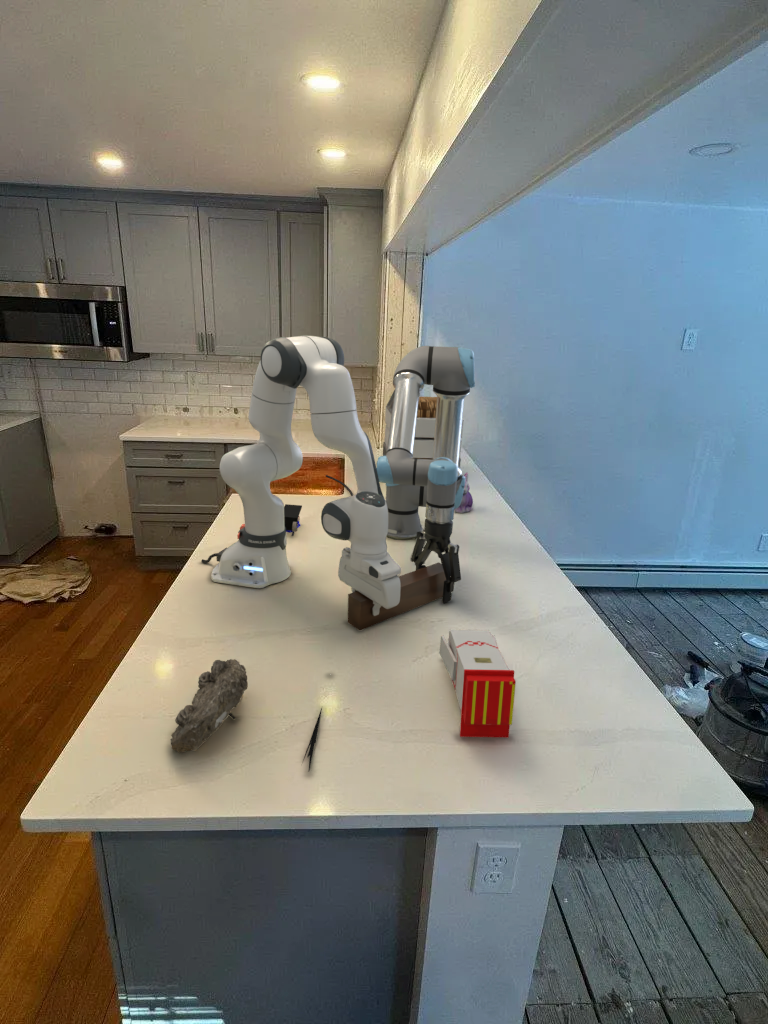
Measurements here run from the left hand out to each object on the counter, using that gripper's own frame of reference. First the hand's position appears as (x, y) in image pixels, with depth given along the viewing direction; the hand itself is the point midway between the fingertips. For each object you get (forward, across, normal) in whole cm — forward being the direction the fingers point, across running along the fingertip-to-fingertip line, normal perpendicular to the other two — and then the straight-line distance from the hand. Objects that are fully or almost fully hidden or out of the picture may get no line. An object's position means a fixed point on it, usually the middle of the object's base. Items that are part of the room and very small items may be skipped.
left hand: (366, 609), depth 142 cm
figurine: (+4, -44, +85) cm, 96 cm away
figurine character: (+4, -63, +17) cm, 65 cm away
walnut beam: (+4, 0, +12) cm, 13 cm away
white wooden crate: (+4, -92, +107) cm, 141 cm away
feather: (+4, +23, -30) cm, 38 cm away
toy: (+4, +35, 0) cm, 35 cm away
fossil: (+4, +10, -45) cm, 46 cm away
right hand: (+3, 0, +24) cm, 24 cm away
